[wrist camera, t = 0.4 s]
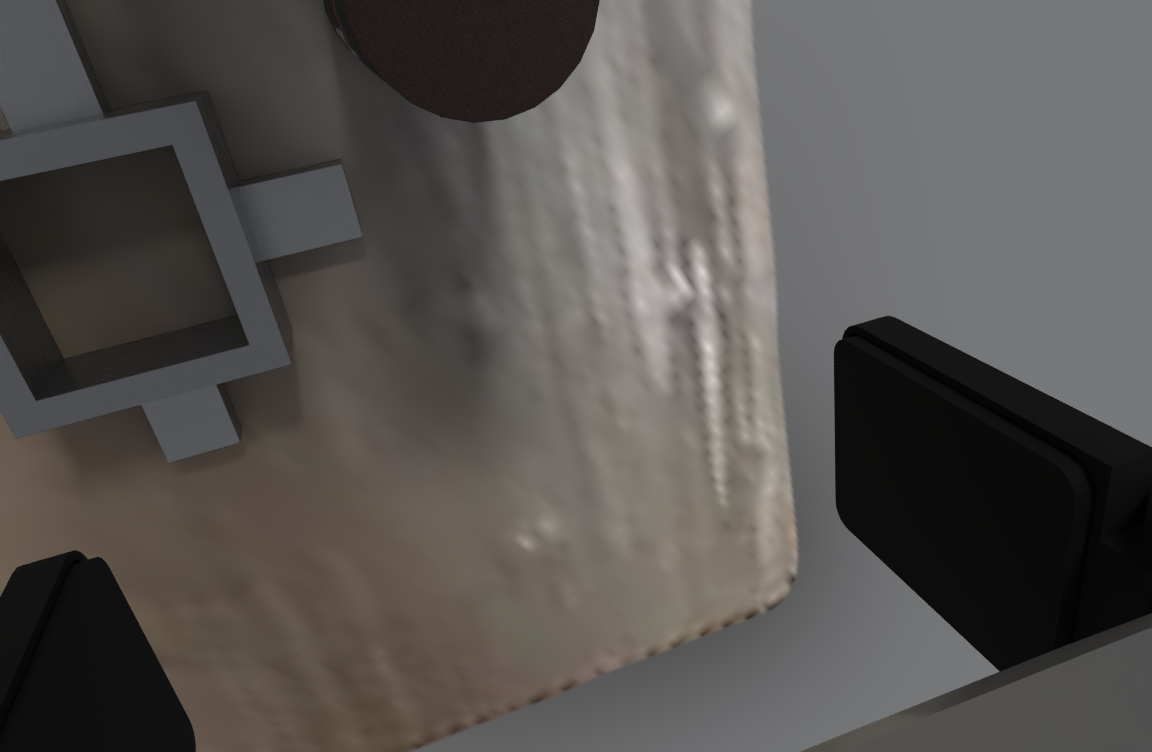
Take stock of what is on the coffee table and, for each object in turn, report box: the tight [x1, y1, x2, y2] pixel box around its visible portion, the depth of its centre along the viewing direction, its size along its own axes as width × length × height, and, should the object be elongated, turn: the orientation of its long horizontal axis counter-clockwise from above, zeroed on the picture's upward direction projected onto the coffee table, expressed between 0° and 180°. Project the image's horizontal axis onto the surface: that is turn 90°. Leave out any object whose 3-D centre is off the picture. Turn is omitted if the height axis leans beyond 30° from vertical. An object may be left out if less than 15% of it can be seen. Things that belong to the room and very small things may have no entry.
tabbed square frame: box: [0, 0, 363, 463], centre depth 30 cm, size 18×18×4 cm
